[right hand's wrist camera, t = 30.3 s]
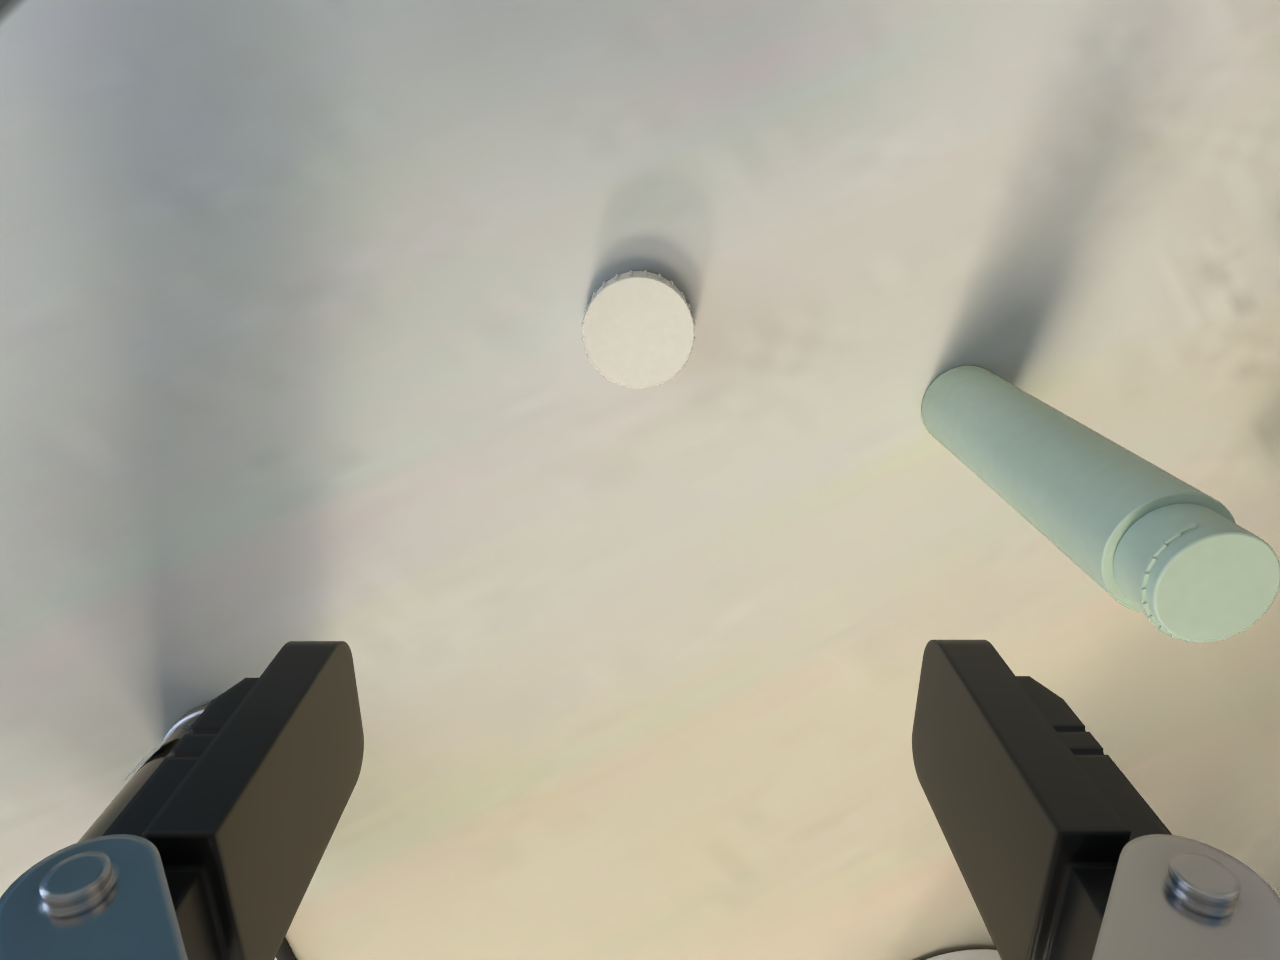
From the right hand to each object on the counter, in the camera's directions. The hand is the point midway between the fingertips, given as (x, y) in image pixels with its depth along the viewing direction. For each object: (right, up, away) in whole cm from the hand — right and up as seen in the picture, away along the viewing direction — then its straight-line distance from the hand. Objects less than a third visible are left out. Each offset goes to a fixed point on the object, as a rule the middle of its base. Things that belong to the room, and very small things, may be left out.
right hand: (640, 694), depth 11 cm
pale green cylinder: (+16, +7, +29) cm, 34 cm away
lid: (0, +10, +26) cm, 27 cm away
